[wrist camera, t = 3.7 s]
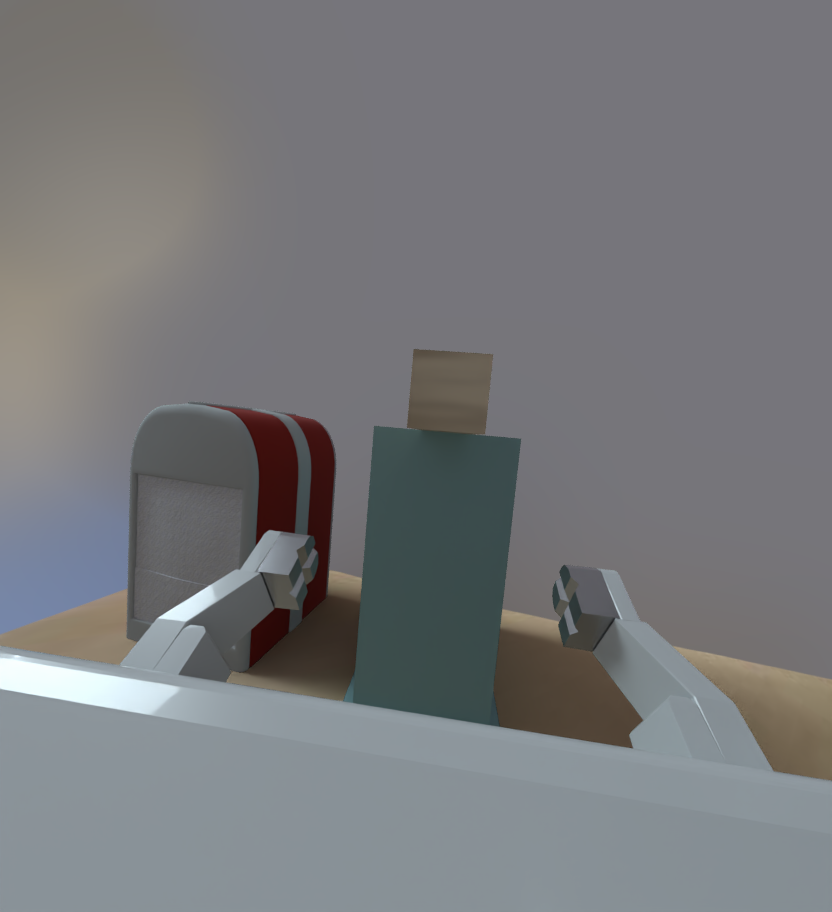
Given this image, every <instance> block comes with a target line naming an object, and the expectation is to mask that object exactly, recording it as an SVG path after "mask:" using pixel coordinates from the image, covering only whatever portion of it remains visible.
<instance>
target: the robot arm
mask: <svg viewBox="0 0 832 912" xmlns="http://www.w3.org/2000/svg"><path fill="white" fill-rule="evenodd" d="M314 545H315V540H314V536H309V535H302V534H295V533H288V532H280V531H273V530H269V531H267V532H266V533H265V534H264V535H263V537H262V538H261V540H260V541H259V543H258V544H257V546H256V547H255V548H254V550H253V551H252V553H251V554H250V556H249V557H248V559H247V560H246V562H245V563H244V565H243V566H242V568H241V569H240V570H234V571H232V572H231V573H229V574H228V575H226V576H224V577H223V578H221V579H219V580H218V581H216V582H215V583H213V584H211V585H210V586H208V587H207V588H205V589H203V590H202V591H200V592H199V593H197V594H195V595H194V596H192V597H191V598H189V599H187V600H186V601H184V602H182V603H181V604H179V605H178V606H176V607H174V608H173V609H171V610H170V611H168V612H166V613H165V614H163V615H162V616H160V617H158V618H157V619H156V620H155V622H154V623H153V624H152V625H151V626H150V628H149V629H148V630H147V631H146V633H145V634H144V635H143V636H142V638H141V639H140V640H139V641H138V643H137V644H136V645H135V646H134V647H133V649H132V650H131V651H130V652H129V654H128V655H127V656H126V657H125V659H124V660H123V661H122V662H121V663H120V665H115V664H109V663H103V662H97V661H90V660H84V659H78V658H72V657H65V656H59V655H53V654H47V653H41V652H34V651H28V650H22V649H17V648H11V647H5V646H0V912H832V781H830V780H824V779H818V778H812V777H806V776H799V775H793V774H787V773H781V772H775V771H773V770H772V768H771V766H770V764H769V763H768V761H767V759H766V757H765V756H764V754H763V752H762V750H761V749H760V747H759V745H758V743H757V742H756V740H755V738H754V736H753V735H752V733H751V731H750V729H749V728H748V726H747V724H746V722H745V721H744V719H743V717H742V716H741V714H740V712H739V710H738V709H737V707H736V705H735V703H734V702H732V701H731V700H730V699H729V698H728V697H727V696H726V695H725V694H724V693H723V692H722V691H720V690H719V689H718V688H717V687H716V686H715V685H714V684H713V683H712V682H711V681H710V680H708V679H707V678H706V677H705V676H704V675H703V674H702V673H701V672H700V671H699V670H697V669H696V668H695V667H694V666H693V665H692V664H691V663H690V662H689V661H688V660H687V659H685V658H684V657H683V656H682V655H681V654H680V653H679V652H678V651H677V650H676V649H675V648H673V647H672V646H671V645H670V644H669V643H668V642H667V641H666V640H665V639H664V638H662V637H661V636H660V635H659V634H658V633H657V632H656V631H655V630H654V629H653V628H652V627H650V626H649V625H648V624H647V623H646V622H641V621H640V619H639V617H638V615H637V613H636V610H635V608H634V606H633V604H632V602H631V600H630V597H629V595H628V593H627V591H626V589H625V587H624V584H623V582H622V580H621V578H620V576H619V574H618V573H617V572H616V571H614V570H604V569H597V568H590V567H580V566H570V565H564V566H563V567H562V568H561V570H560V576H561V578H560V579H558V580H556V581H555V584H554V587H553V595H552V597H553V605H554V609H555V612H556V613H557V614H558V615H559V616H560V617H561V620H560V622H559V624H558V626H559V630H560V634H561V639H562V643H563V647H568V648H574V649H580V650H586V651H592V652H593V654H594V656H595V657H596V658H597V660H598V661H599V662H600V664H601V665H602V666H603V668H604V669H605V670H606V671H607V673H608V674H609V675H610V677H611V678H612V679H613V681H614V682H615V683H616V685H617V686H618V687H619V689H620V690H621V691H622V693H623V694H624V695H625V697H626V698H627V699H628V700H629V702H630V703H631V704H632V706H633V707H634V708H635V710H636V711H637V712H638V714H639V715H640V716H641V718H642V719H643V721H642V722H641V723H640V724H639V725H638V726H637V727H636V728H634V729H633V730H632V732H631V733H630V734H629V736H630V739H631V743H632V746H633V748H627V747H621V746H615V745H609V744H602V743H596V742H590V741H584V740H578V739H572V738H565V737H559V736H553V735H547V734H541V733H535V732H528V731H522V730H516V729H510V728H504V727H498V726H492V725H485V724H479V723H473V722H467V721H461V720H455V719H448V718H442V717H436V716H430V715H424V714H418V713H411V712H405V711H399V710H393V709H387V708H381V707H375V706H368V705H362V704H356V703H350V702H344V701H338V700H331V699H325V698H319V697H313V696H307V695H300V694H294V693H288V692H282V691H276V690H270V689H263V688H257V687H251V686H245V685H239V684H233V683H226V681H227V679H228V677H229V675H230V673H231V670H230V667H229V665H228V663H227V662H226V660H225V659H224V657H223V656H222V655H223V654H225V653H226V652H227V651H228V650H229V649H230V648H231V647H232V646H233V645H235V644H236V643H237V642H238V641H239V640H240V639H241V638H242V637H244V636H245V635H246V634H247V633H248V632H249V631H250V630H251V629H252V628H254V627H255V626H256V625H257V624H258V623H259V622H260V621H261V620H263V619H264V618H265V617H266V616H267V615H268V614H269V613H270V612H271V611H273V610H274V607H275V608H284V609H293V610H300V608H301V605H302V603H303V601H304V599H305V597H306V594H307V592H308V591H307V587H306V585H307V584H308V583H309V582H311V581H312V580H313V579H314V576H315V574H316V571H317V566H318V553H317V551H316V550H315V549H314V548H313V547H314Z"/></svg>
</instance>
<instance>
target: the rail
mask: <svg viewBox="0 0 832 912" xmlns="http://www.w3.org/2000/svg"><path fill="white" fill-rule="evenodd" d="M492 360H493V354H480V353H465V352H450V351H434V350H419V349H414V353H413V365H412V376H411V388H410V399H409V411H408V423H407V428H413V429H418V430H426V431H438V432H449V433H460V434H485V429H486V419H487V410H488V400H489V390H490V380H491V371H492Z"/></svg>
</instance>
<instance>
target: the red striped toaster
mask: <svg viewBox="0 0 832 912" xmlns="http://www.w3.org/2000/svg"><path fill="white" fill-rule="evenodd" d="M335 477H336V454H335V448H334V445H333V441H332V439H331V436H330V434H329V433H328V431H327V429H326V428H325V427H324V426H323V425H322V424H321V423H320V422H318V421H316V420H313V419H309V418H304V417H300V416H296V414H292V413H285V412H276V411H268V410H260V409H253V408H245V407H237V406H229V405H220V404H211V403H203V402H202V403H201V402H190V401H189V402H188V404H177V405H164V406H160V407H157V408H156V409H154V410H153V411H151V412H150V413H149V414H148V415H147V416H146V418H145V419H144V421H143V422H142V423H141V425H140V427H139V429H138V431H137V434H136V437H135V440H134V444H133V448H132V455H131V467H130V508H129V552H128V595H127V638H128V639H131V640H134V641H139V640H140V639H141V638H142V636H143V635H144V634H145V633H146V631H147V630H148V629H149V628H150V626H151V625H152V624H153V623H154V622H155V620H156V619H157V618H158V617H160V616H162V615H163V614H165V613H166V612H168V611H170V610H171V609H173V608H174V607H176V606H178V605H179V604H181V603H182V602H184V601H186V600H187V599H189V598H191V597H192V596H194V595H195V594H197V593H199V592H200V591H202V590H203V589H205V588H207V587H208V586H210V585H211V584H213V583H215V582H216V581H218V580H219V579H221V578H223V577H224V576H226V575H228V574H229V573H231V572H232V571H234V570H240V569H241V568H242V566H243V565H244V563H245V562H246V560H247V559H248V557H249V556H250V554H251V553H252V551H253V550H254V548H255V547H256V546H257V544H258V543H259V541H260V540H261V538H262V537H263V535H264V534H265V533H266V532H267V531H269V530H273V531H280V532H288V533H295V534H302V535H309V536H314V540H315V545H314V547H313V548H314V549H315V550H316V551H317V553H318V566H317V571H316V574H315V576H314V579H313V580H312V581H311V582H309V583H308V584H307V585H306V587H307V591H308V592H307V594H306V597H305V599H304V601H303V603H302V605H301V608H300V610H293V609H284V608H275V607H274V610H273V611H271V612H270V613H269V614H268V615H267V616H266V617H265V618H264V619H263V620H261V621H260V622H259V623H258V624H257V625H256V626H255V627H254V628H252V629H251V630H250V631H249V632H248V633H247V634H246V635H245V636H244V637H242V638H241V639H240V640H239V641H238V642H237V643H236V644H235V645H233V646H232V647H231V648H230V649H229V650H228V651H227V652H226V653H225V654H223V655H222V656H223V657H224V659H225V660H226V662H227V663H228V665H229V667H230V670H232V671H235V672H244V671H246V670H248V669H249V667H251V666H252V665H254V664H255V663H256V662H257V661H258V660H259V659H260V658H261V657H262V656H263V655H264V654H265V653H267V652H268V651H269V650H270V649H271V648H272V647H273V646H274V645H275V644H276V643H277V642H278V641H280V640H281V639H282V638H283V637H284V636H285V635H286V634H287V633H288V632H291V631H292V630H293V629H294V628H295V627H296V626H297V625H299V624H300V623H301V622H302V619H303V618H304V617H306V616H307V615H308V614H309V613H310V612H311V611H312V610H313V609H314V608H315V607H316V606H317V605H318V604H320V603H321V602H322V601H323V600H324V599H325V598H326V597H327V593H328V578H329V564H330V549H331V534H332V521H333V506H334V492H335Z"/></svg>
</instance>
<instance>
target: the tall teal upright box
mask: <svg viewBox="0 0 832 912" xmlns="http://www.w3.org/2000/svg"><path fill="white" fill-rule="evenodd" d="M520 444H521V439H517V438H506V437H494V436H483V435H472V434H460V433H449V432H438V431H426V430H415V429H403V428H391V427H380V426H374V435H373V447H372V460H371V473H370V486H369V499H368V512H367V525H366V538H365V551H364V563H363V576H362V589H361V602H360V615H359V628H358V640H357V653H356V666H355V672H354V674H353V677H352V679H351V682H350V685H349V687H348V690H347V692H346V695H345V697H344V700H343V701H344V702H350V703H356V704H362V705H368V706H375V707H381V708H387V709H393V710H399V711H405V712H411V713H418V714H424V715H430V716H436V717H442V718H448V719H455V720H461V721H467V722H473V723H479V724H485V725H492V726H498V727H500V725H499V720H498V714H497V709H496V703H495V698H494V692H493V687H494V678H495V669H496V660H497V651H498V642H499V633H500V624H501V615H502V605H503V597H504V587H505V579H506V570H507V561H508V552H509V543H510V534H511V525H512V516H513V507H514V497H515V489H516V480H517V470H518V462H519V453H520Z"/></svg>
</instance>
